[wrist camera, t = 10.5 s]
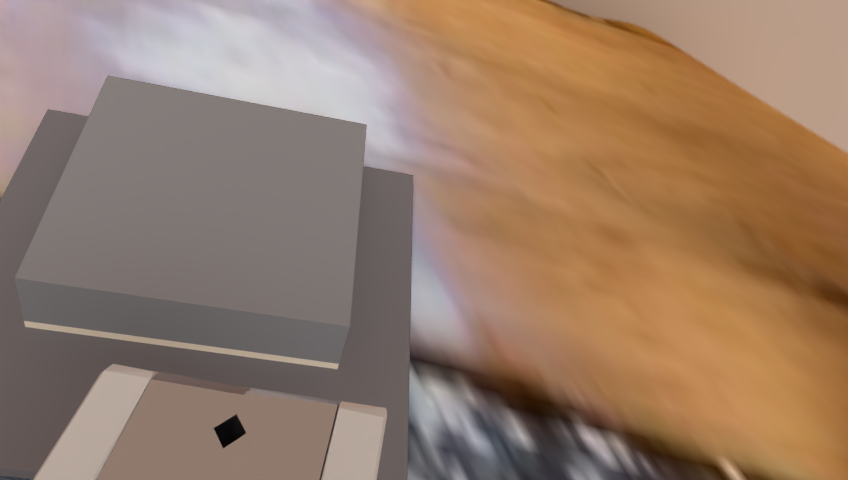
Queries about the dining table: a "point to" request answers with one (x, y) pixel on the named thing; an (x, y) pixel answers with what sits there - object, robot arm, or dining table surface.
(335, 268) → the glazed tile
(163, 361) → the felt mat
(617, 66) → the dining table surface
